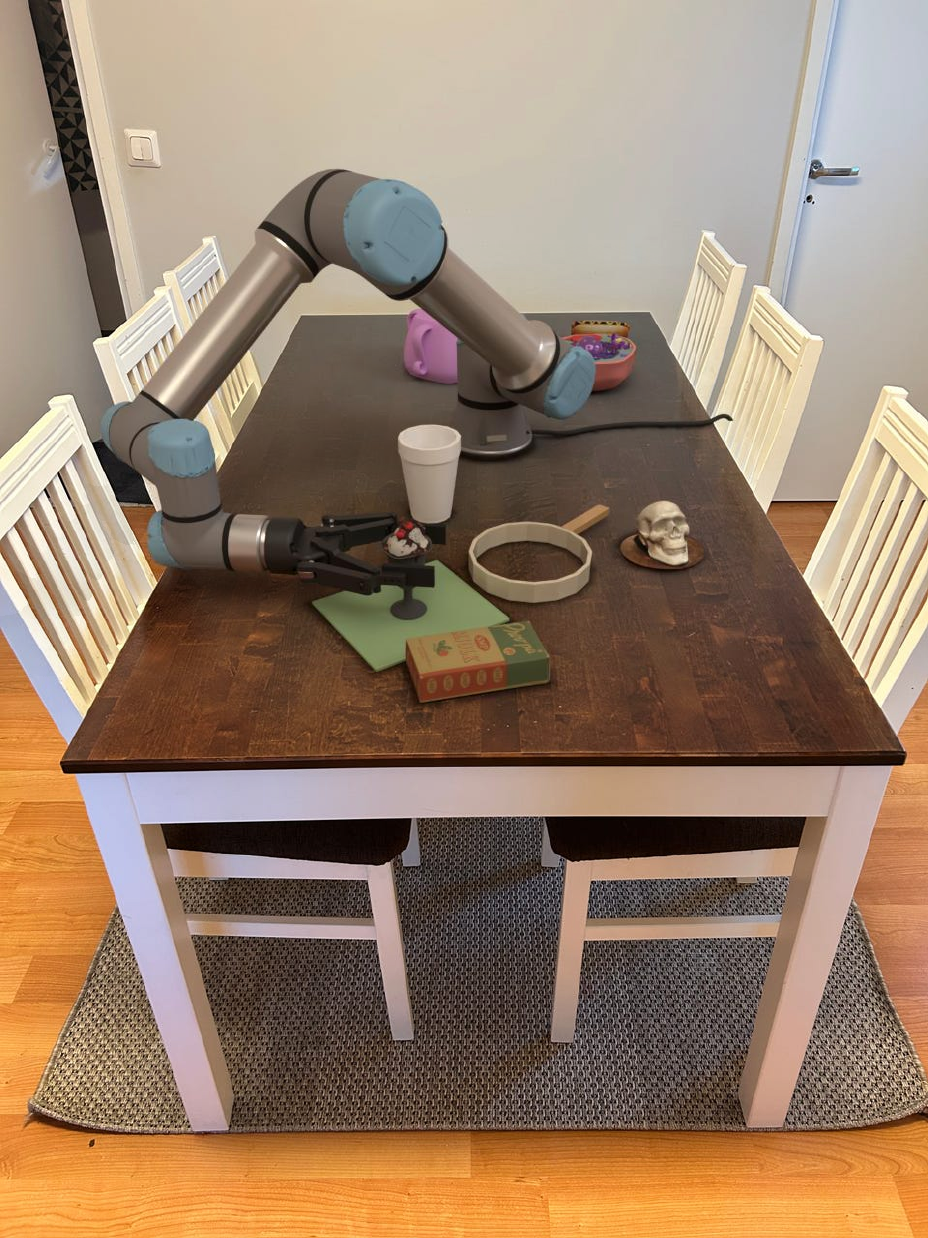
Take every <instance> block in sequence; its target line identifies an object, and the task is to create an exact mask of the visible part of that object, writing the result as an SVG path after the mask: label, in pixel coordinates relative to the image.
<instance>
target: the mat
mask: <svg viewBox="0 0 928 1238" xmlns="http://www.w3.org/2000/svg"><path fill="white" fill-rule="evenodd" d="M425 565H427V566H435V587H434V588H430V587H415V588H413V590H412V595H413V599H417V600H420V601H422V602H423V603H424V604H425V605H426V606H427V611H426V613H425V614H424V615H423V616H421V617H420V618H417V619H413V620H403V619H399V618H396V617H395V616H393V615H392V614H391V612H390V608H391V606H392V604H393V603H395V602H397V601H399V600H402V599H403V598H404V591H403V589H401V588H399V587H398V586H394V585H393V586H389V585H381V592H379V593H373V594H372V595H369V596H366V595H362V594H357V593H353V592H349V591H345V590H341V591H340V592H336V593H333V594H330V595H328V596H325V597H322V598H319V599H316V600H312V601H311V605H313V607H314V608H315V609H316V610H317V611H318V612H319V613H320V614H321V615H322V616H323V617H324V618H325V620H326V621H328V622H329V624H330V625H331V626H332V627H333V628H334V629H335V630H336V631H337V632H338V633H339V634H340V635H341V636H342V638H344V640H346V641H347V643H348V644H349V645H350V646H351V647H352V648H353V649H354V650H355V651H356V653H358V655H359V656H360V657H361V658H362V659H363V660H364V661H365V662H366V663H367V664H368V665H369V666H370V667H371V668H372V669H373V670H374V672H375V673H379V672H381V671H384V670H386V669H389V668H391V667H394V666H396V665H398V664H401V663H404V662H406V654H405V646H406V639H407V638H415V637H421V636H428V635H435V634H442V633H448V632H455V631H462V630H469V629H475V628H482V627H489V626H495V625H502V624H506V623H508V622H509V621H510V618H509V617H508V616H507V615H506V614H505V613H503V612H502V611H501V610H500V609H498V608H497V607H496V606H495V605H493V604H492V603H491V601H489V600H488V599H486V598H485V597H484V596H483V595H481V594H480V593H479V592H477V591H476V589H474V588H473V587H471V586H470V585H469V584H468V583H466V582H465V581H464V580H463V579H462V578H461V577H459V576H458V575H456V573H454V572H453V571H452V570H450V569H449V568H448V567H447V566H446V565H444V564H443V562H440V561H439V560H438V559H435V560H431V561H428V562H425Z"/></svg>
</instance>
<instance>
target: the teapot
mask: <svg viewBox="0 0 928 1238" xmlns="http://www.w3.org/2000/svg"><path fill="white" fill-rule="evenodd" d="M406 326H407V334H406V338H405V342H404V348H403V349H404V350H403V363H404V366H405V368H406V370H407V372H408V373H409V375H411V376H413V377H415V378H419V379H421V380H424V381H425V380H426V381H430V382H434V383H438V384H445V385H452V384H453V385H454V384H457V345H456V341H457V337H456V336H454V335H453V334H452V333H451V332H449V331H448V330H447V329H446V328H444V327H443V326H442V325H441V324H440V323H438V322H437V321H436V320H435V319H433V318H432V317H431V316H430V315H428V314H427V313H426V312H425V311H423V310H422V309H421V308H415V309H413V310H411V311H410V312H409V313H408V315H407V317H406Z"/></svg>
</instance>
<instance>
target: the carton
mask: <svg viewBox="0 0 928 1238" xmlns="http://www.w3.org/2000/svg"><path fill="white" fill-rule="evenodd" d="M405 654H406V661H405V663H406V666H407V669H408V671H409V674H410V677H411V681H412V683H413V686H414V689H415V692H416V695H417V698H418V702H419V703H421V704H422V703H427V702H435V701H440V700H446V699H452V698H459V697H465V696H471V695H478V694H483V693H489V692H497V691H503V690H510V689H517V688H524V687H531V686H540V685H545V684H547V683H549V682H551V658H550V657H551V656H550V654H549V653H548V652H547V650H546V648H545V647H544V644H543V643H542V642H541V640H540V638H539V636H538V635H537V633H536V631H535V629H534V627H533V625H532V623H531V622H530V620H523V621H517V622H515V621H514V622H510V623H503V624H500V625H495V626H489V627H482V628H475V629H469V630H462V631H455V632H448V633H442V634H435V635H428V636H421V637H415V638H407V639H406V646H405Z"/></svg>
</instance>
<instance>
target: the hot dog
mask: <svg viewBox="0 0 928 1238" xmlns="http://www.w3.org/2000/svg"><path fill="white" fill-rule="evenodd" d="M630 326H631V325H630V324H629V323H628V322H622V321H618V320H617V321H616V320H595V319H593V320H592V319H591V320H587V319H585V320H578V321H576V320H575V321H573V322H572V324H571V330H570V336H572V335H579V334H617V335H618V336H620V337H624V338H628V337H629V331H630V329H631V327H630Z"/></svg>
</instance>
